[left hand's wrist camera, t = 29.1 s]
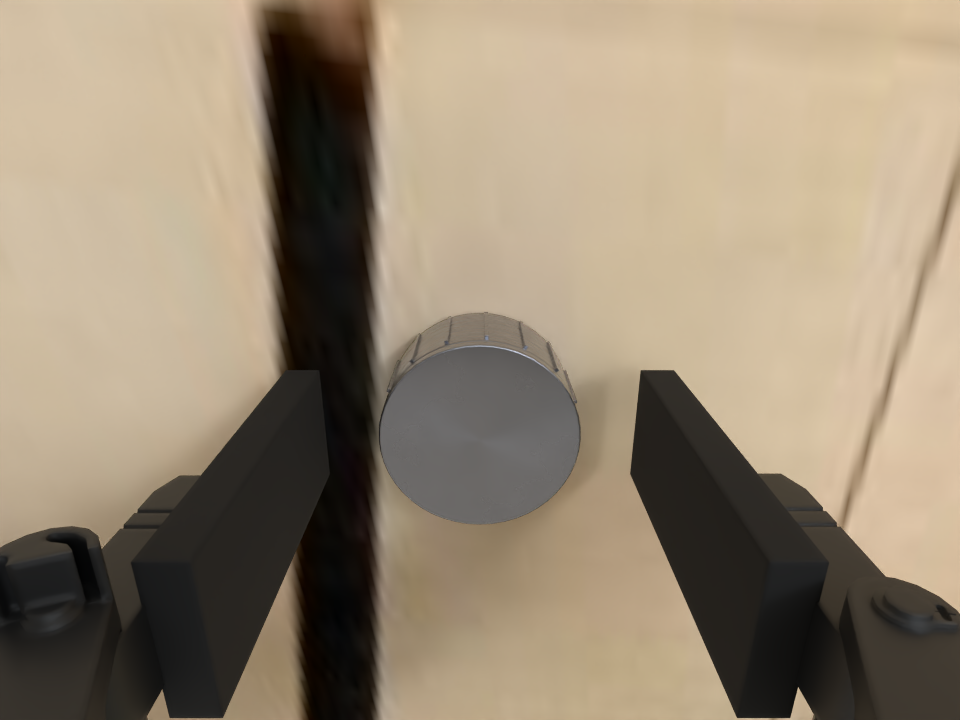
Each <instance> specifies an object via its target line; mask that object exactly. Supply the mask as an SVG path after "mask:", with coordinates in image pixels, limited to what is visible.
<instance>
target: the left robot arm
mask: <svg viewBox="0 0 960 720" xmlns="http://www.w3.org/2000/svg"><path fill="white" fill-rule="evenodd" d="M329 474H330V472H329V462H328V452H327V442H326V432H325V423H324V413H323V403H322V393H321V383H320V374H319V370H286V371H285V372H284V374H283V375H282V376H281V377H280V378H279V380H278V381H277V382H276V383H275V385H274V386H273V387H272V388H271V390H270V391H269V392H268V393H267V395H266V396H265V397H264V398H263V399H262V401H261V402H260V403H259V404H258V406H257V407H256V408H255V409H254V411H253V412H252V413H251V414H250V416H249V417H248V418H247V419H246V420H245V422H244V423H243V424H242V425H241V427H240V428H239V429H238V430H237V432H236V433H235V434H234V435H233V437H232V438H231V439H230V440H229V441H228V443H227V444H226V445H225V446H224V448H223V449H222V450H221V451H220V453H219V454H218V455H217V456H216V457H215V459H214V460H213V461H212V462H211V464H210V465H209V466H208V467H207V469H206V470H205V471H204V472H203V474H202V475H201V476H178V477H177V478H175V479H173V480H172V481H170V482H169V483H167V484H165V485H164V486H162V487H160V488H159V489H157V490H156V491H154V492H153V493H152V494H151V495H150V497H149V498H148V499H147V500H146V501H145V502H144V503H143V504H142V505H141V507H140V508H139V509H138V512H137V513H134V514H133V515H132V517H131V518H130V519H129V520H128V521H127V522H126V523H125V524H124V528H123V529H120V530H119V531H118V532H117V533H116V534H115V535H114V536H113V538H112V539H111V540H110V541H109V542H108V543H107V544H106V545H105V546H104V548H103V549H101V546H100V542H99V538H98V536H97V535H96V534H95V533H93V532H92V531H91V530H89V529H86V528H80V527H73V526H70V527H60V528H51V529H47V530H43V531H40V532H36V533H33V534H29V535H26V536H24V537H22V538H19V539H17V540H15V541H13V542H10V543H8V544H6V545H4V546H2V547H1V548H0V720H148V719H147V715H148V713H149V711H150V710H151V708H152V706H153V704H154V703H155V701H156V699H157V697H158V696H159V694H160V692H161V690H162V689H163V693H164V697H165V701H166V705H167V709H168V713H169V717H170V718H223V716H224V714H225V712H226V710H227V707H228V705H229V703H230V700H231V698H232V696H233V694H234V691H235V689H236V687H237V684H238V682H239V680H240V678H241V675H242V673H243V671H244V668H245V666H246V664H247V662H248V659H249V657H250V655H251V652H252V650H253V648H254V646H255V643H256V641H257V639H258V636H259V634H260V632H261V630H262V627H263V625H264V623H265V620H266V618H267V616H268V614H269V611H270V609H271V607H272V604H273V602H274V600H275V598H276V595H277V593H278V591H279V589H280V586H281V584H282V582H283V579H284V577H285V575H286V573H287V570H288V568H289V566H290V563H291V561H292V559H293V557H294V554H295V552H296V550H297V547H298V545H299V543H300V541H301V538H302V536H303V534H304V531H305V529H306V527H307V525H308V522H309V520H310V518H311V515H312V513H313V511H314V509H315V506H316V504H317V502H318V499H319V497H320V495H321V493H322V490H323V488H324V486H325V483H326V481H327V479H328V477H329ZM630 474H631V477H632V479H633V481H634V484H635V486H636V488H637V490H638V493H639V495H640V497H641V500H642V502H643V504H644V506H645V509H646V511H647V513H648V515H649V518H650V520H651V522H652V525H653V527H654V529H655V531H656V534H657V536H658V538H659V541H660V543H661V545H662V547H663V550H664V552H665V554H666V557H667V559H668V561H669V563H670V566H671V568H672V570H673V573H674V575H675V577H676V579H677V582H678V584H679V586H680V589H681V591H682V593H683V595H684V598H685V600H686V602H687V605H688V607H689V609H690V611H691V614H692V616H693V618H694V620H695V623H696V625H697V627H698V630H699V632H700V634H701V636H702V639H703V641H704V643H705V646H706V648H707V650H708V652H709V655H710V657H711V659H712V662H713V664H714V666H715V668H716V671H717V673H718V675H719V678H720V680H721V682H722V684H723V687H724V689H725V691H726V694H727V696H728V698H729V700H730V703H731V705H732V707H733V710H734V712H735V714H736V716H737V718H790V717H791V713H792V709H793V705H794V701H795V697H796V693H797V689H798V687H799V689H800V691H801V692H802V694H803V696H804V698H805V699H806V701H807V703H808V705H809V706H810V708H811V710H812V712H813V713H814V716H813V719H812V720H960V614H959V612H958V611H957V610H956V609H954V608H953V607H952V606H951V605H949V604H948V603H947V602H945V601H944V600H943V599H942V598H940V597H939V596H937V595H935V594H933V593H931V592H929V591H927V590H925V589H923V588H921V587H920V586H918V585H915V584H912V583H908V582H905V581H902V580H899V579H896V578H889V577H886V576H885V575H884V574H883V573H882V572H881V571H880V570H879V569H878V568H877V567H876V565H875V564H874V563H873V562H872V561H871V560H870V559H869V558H868V557H867V556H866V555H865V553H864V552H863V551H862V550H861V549H860V548H859V547H858V546H857V545H856V544H855V542H854V541H853V540H852V539H851V538H850V537H849V536H848V535H847V534H846V533H845V531H844V530H843V529H842V528H841V527H837V523H836V522H835V520H834V519H833V518H832V517H831V516H830V515H829V514H828V513H827V512H826V511H823V507H822V506H821V505H820V504H819V503H818V502H817V501H816V500H815V498H814V497H813V496H812V495H811V494H810V493H809V492H808V491H807V490H806V489H805V488H803V487H802V486H800V485H798V484H797V483H795V482H793V481H792V480H790V479H789V478H787V477H785V476H784V475H782V474H757V472H756V471H755V470H754V469H753V467H752V466H751V465H750V464H749V462H748V461H747V460H746V459H745V458H744V456H743V455H742V454H741V453H740V451H739V450H738V449H737V448H736V446H735V445H734V444H733V443H732V441H731V440H730V439H729V438H728V437H727V435H726V434H725V433H724V432H723V430H722V429H721V428H720V427H719V425H718V424H717V423H716V422H715V420H714V419H713V418H712V417H711V416H710V414H709V413H708V412H707V411H706V409H705V408H704V407H703V406H702V404H701V403H700V402H699V401H698V399H697V398H696V397H695V396H694V395H693V393H692V392H691V391H690V390H689V388H688V387H687V386H686V385H685V383H684V382H683V381H682V380H681V378H680V377H679V376H678V375H677V374H676V372H675V371H674V370H641V374H640V383H639V393H638V403H637V413H636V423H635V432H634V442H633V452H632V462H631V472H630Z"/></svg>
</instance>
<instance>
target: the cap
mask: <svg viewBox="0 0 960 720" xmlns="http://www.w3.org/2000/svg"><path fill="white" fill-rule="evenodd" d="M387 392H389V393H388V396H387V399H386V402H385V405H384V408H383V411H382V414H381V419H380V422H379V443H380V450H381V454H382V458H383V461H384V464H385V466H386V468H387V470H388V473H389V474H390V476H391V477H392V479H393V481H394V482H395V484H396V485H397V486H398V487H399V489H400V490H401V491H402V492H403V493H404V494H405V495H406V496H407V497H408V498H409V499H410V500H411V501H413V502H414V503H416V504H417V505H418V506H420V507H421V508H423V509H425V510H426V511H428V512H430V513H432V514H434V515H437V516H439V517H441V518H444V519H448V520H451V521H455V522H460V523H466V524H493V523H499V522H505V521H508V520H512V519H515V518H518V517H521V516H523V515H525V514H528V513H530V512H531V511H533V510H535V509H537V508H539V507H540V506H541V505H543V504H544V503H545V502H547V501H548V500H549V499H550V498H551V497H552V496H554V495H555V494H556V493H557V492H558V490H559V489H560V488H561V487H562V486H563V484H564V483H565V482H566V480H567V478H568V477H569V475H570V474H571V472H572V469H573V467H574V465H575V463H576V459H577V456H578V453H579V447H580V440H581V431H580V422H579V416H578V412H577V409H576V406H575V403H577V400H576V398H575V395H574V392H573V389H572V386H571V384H570V381H569V378H568V375H567V372H566V370H565V371H563V368H562V366H561V363H560V361H559V359H558V357H557V355H556V354H555V352H554V351H553V349H552V347H551V344H550V342H546V341H545V340H544V339H543V338H542V337H541V336H540V335H539V334H538V333H536V332H535V331H534V330H532V329H531V328H529V327H528V326H526V325H525V324H523V322H522V321H520V322H518V321H516V320H514V319H511V318H508V317H505V316H500V315H495V314H488V312H484V313H474V314H465V315H459V316H455V317H448V319H446V320H443V321H441V322H439V323H437V324H435V325H433V326H432V327H430V328H429V329H427V330H426V331H424V332H423V333H422V334H420V333H419V334H418V335H417V338H416V339H415V340H414V341H413V343H412V344H411V345H410V346H409V347H408V349H407V350H406V352H405V353H404V355H403V356H402V358H401V361H399V360H398V361H397V364H396V367H395V369H394V372H393V375H392V378H391V380H390V383H389V386H388V389H387Z"/></svg>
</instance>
